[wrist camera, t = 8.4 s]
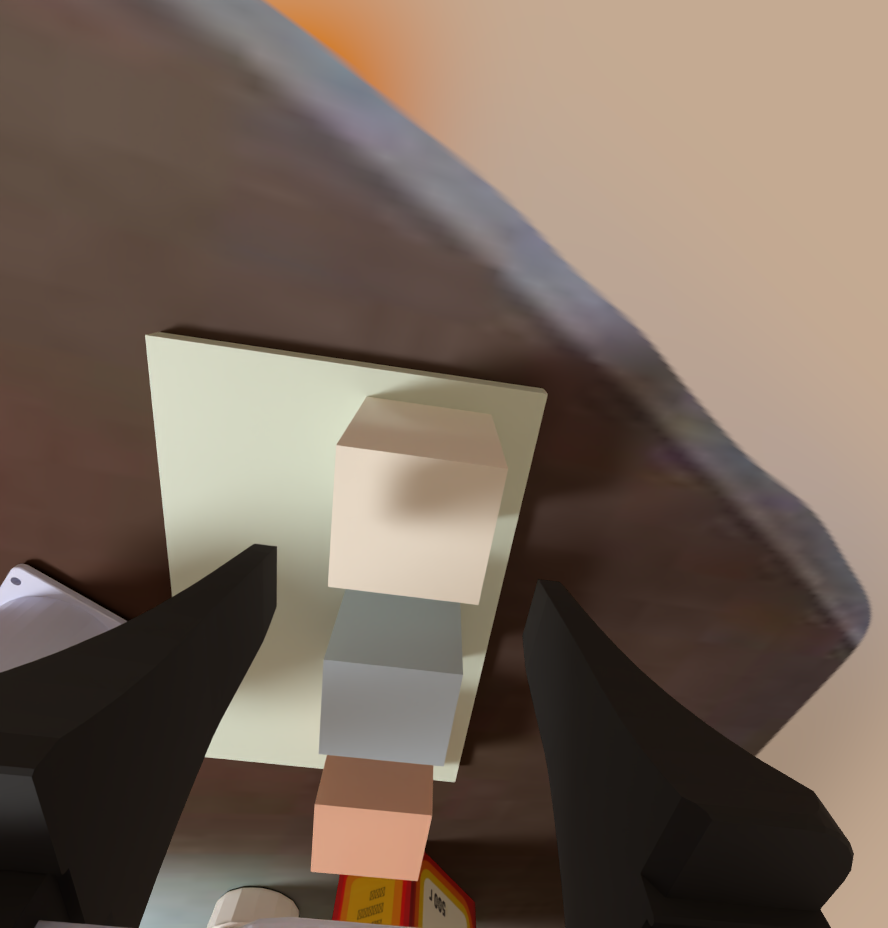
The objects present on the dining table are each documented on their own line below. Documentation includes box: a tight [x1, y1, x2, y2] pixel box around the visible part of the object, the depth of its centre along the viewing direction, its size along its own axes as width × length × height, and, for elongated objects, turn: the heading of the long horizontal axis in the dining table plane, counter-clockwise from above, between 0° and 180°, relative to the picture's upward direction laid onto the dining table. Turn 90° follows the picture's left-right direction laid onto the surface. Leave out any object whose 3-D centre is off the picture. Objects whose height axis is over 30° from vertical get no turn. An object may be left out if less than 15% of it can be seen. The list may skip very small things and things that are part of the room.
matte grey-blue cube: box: [319, 589, 463, 766], centre depth 22 cm, size 6×6×6 cm
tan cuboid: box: [328, 397, 508, 605], centre depth 18 cm, size 6×6×6 cm
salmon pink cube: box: [311, 755, 433, 881], centre depth 25 cm, size 6×6×6 cm
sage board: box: [145, 332, 548, 782], centre depth 25 cm, size 26×17×1 cm, turn 172°
